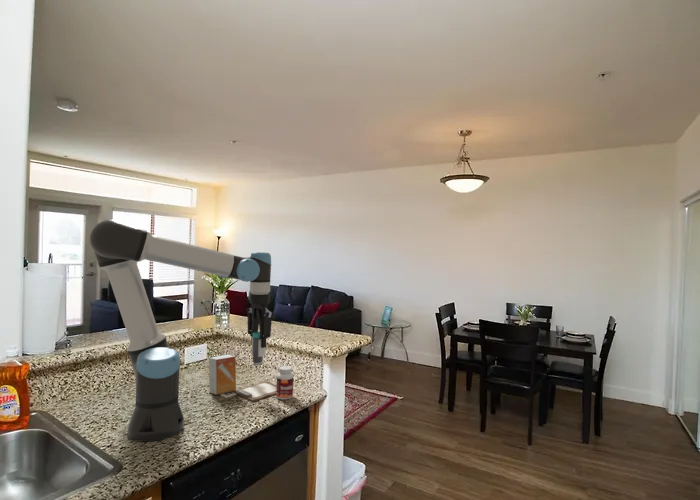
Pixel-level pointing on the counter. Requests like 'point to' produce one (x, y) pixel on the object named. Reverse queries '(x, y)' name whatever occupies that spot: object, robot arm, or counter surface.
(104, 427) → the counter surface
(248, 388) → the clipboard
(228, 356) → the small box
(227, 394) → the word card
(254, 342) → the marker
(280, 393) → the pill bottle
